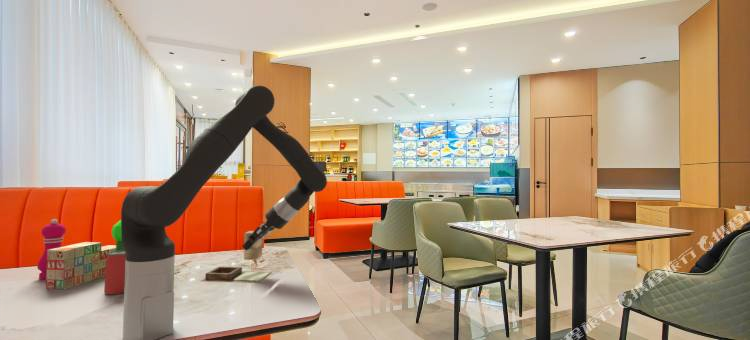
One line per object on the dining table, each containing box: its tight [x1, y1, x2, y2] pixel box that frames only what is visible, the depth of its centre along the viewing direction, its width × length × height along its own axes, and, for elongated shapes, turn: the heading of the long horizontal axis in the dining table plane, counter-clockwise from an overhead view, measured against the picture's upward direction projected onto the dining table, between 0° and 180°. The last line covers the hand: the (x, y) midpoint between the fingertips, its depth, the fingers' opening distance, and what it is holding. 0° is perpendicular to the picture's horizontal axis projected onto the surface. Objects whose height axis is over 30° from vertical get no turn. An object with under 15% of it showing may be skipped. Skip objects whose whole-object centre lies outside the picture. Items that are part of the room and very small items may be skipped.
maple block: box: [243, 230, 263, 261], centre depth 112 cm, size 4×4×9 cm
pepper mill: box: [37, 218, 67, 281], centre depth 112 cm, size 7×7×20 cm
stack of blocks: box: [45, 241, 116, 290], centre depth 111 cm, size 21×6×12 cm, turn 175°
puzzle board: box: [200, 266, 273, 284], centre depth 112 cm, size 20×12×3 cm, turn 88°
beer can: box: [103, 250, 126, 296], centre depth 99 cm, size 7×7×12 cm
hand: (247, 246), depth 112 cm, fingers closed on maple block, 4 cm apart
